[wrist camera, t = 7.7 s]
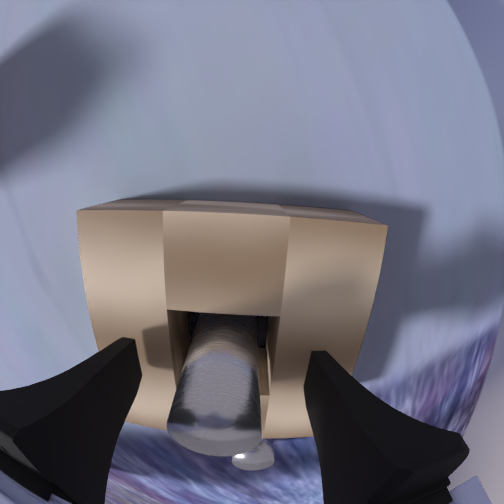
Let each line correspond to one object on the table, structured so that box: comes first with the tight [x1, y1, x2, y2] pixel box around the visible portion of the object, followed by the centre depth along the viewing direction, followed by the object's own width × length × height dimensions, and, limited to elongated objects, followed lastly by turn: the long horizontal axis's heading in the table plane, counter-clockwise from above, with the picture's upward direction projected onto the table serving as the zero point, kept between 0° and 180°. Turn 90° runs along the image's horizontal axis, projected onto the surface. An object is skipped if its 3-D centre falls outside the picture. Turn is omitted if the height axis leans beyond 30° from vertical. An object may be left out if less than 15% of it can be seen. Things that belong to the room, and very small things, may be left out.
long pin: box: [167, 312, 262, 456], centre depth 11 cm, size 3×3×8 cm
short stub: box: [232, 438, 274, 471], centre depth 16 cm, size 3×3×3 cm
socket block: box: [77, 200, 388, 438], centre depth 13 cm, size 12×12×4 cm
